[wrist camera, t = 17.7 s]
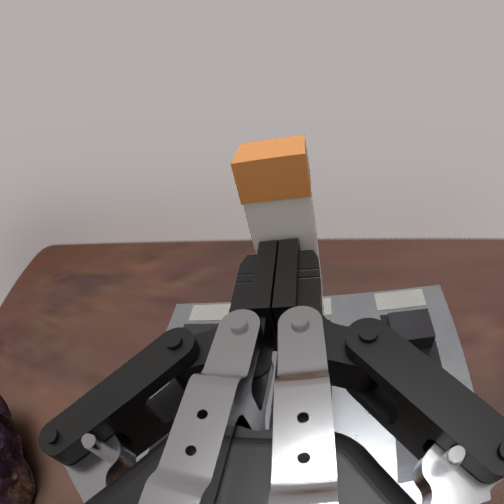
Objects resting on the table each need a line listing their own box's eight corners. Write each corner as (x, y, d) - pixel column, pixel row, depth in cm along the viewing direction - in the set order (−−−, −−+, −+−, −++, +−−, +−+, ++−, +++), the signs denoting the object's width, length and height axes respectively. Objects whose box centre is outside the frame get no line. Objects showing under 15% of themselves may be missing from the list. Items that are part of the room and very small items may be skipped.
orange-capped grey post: (326, 323, 18) (304, 134, 12) (326, 353, 16) (305, 153, 10) (283, 326, 19) (240, 143, 12) (280, 355, 17) (230, 163, 11)
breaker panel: (431, 315, 20) (442, 273, 18) (467, 508, 9) (500, 495, 7) (190, 330, 24) (171, 294, 22) (139, 505, 13) (99, 490, 11)
